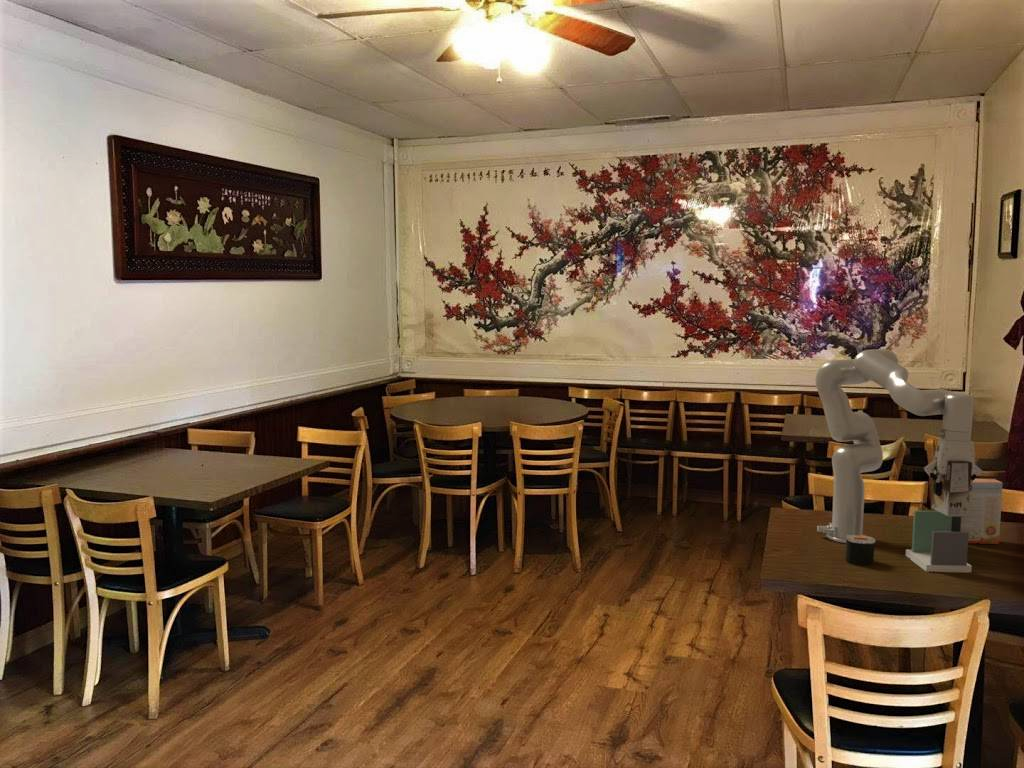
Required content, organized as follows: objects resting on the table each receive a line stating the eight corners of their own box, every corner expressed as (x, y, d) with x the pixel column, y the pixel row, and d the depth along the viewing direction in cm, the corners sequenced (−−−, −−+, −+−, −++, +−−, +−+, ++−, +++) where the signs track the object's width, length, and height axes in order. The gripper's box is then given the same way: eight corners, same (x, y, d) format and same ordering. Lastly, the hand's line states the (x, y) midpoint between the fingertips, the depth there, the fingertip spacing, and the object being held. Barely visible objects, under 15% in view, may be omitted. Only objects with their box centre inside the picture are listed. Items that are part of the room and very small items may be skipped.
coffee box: (968, 516, 244) (974, 462, 242) (947, 517, 244) (952, 462, 242) (950, 507, 253) (955, 455, 251) (929, 508, 253) (934, 455, 251)
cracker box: (990, 539, 282) (995, 478, 279) (999, 545, 276) (1004, 482, 273) (947, 538, 283) (951, 477, 281) (954, 543, 277) (958, 481, 275)
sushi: (875, 567, 253) (876, 541, 252) (845, 564, 256) (846, 538, 255) (873, 559, 261) (874, 534, 260) (844, 556, 263) (845, 531, 262)
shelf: (926, 571, 249) (929, 522, 248) (905, 555, 264) (908, 508, 263) (971, 572, 249) (974, 522, 247) (948, 556, 264) (951, 509, 262)
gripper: (930, 437, 242) (925, 497, 245) (993, 439, 241) (987, 500, 243) (920, 432, 250) (915, 491, 252) (980, 434, 248) (975, 493, 251)
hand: (950, 494), depth 248 cm, fingers closed on coffee box, 6 cm apart
